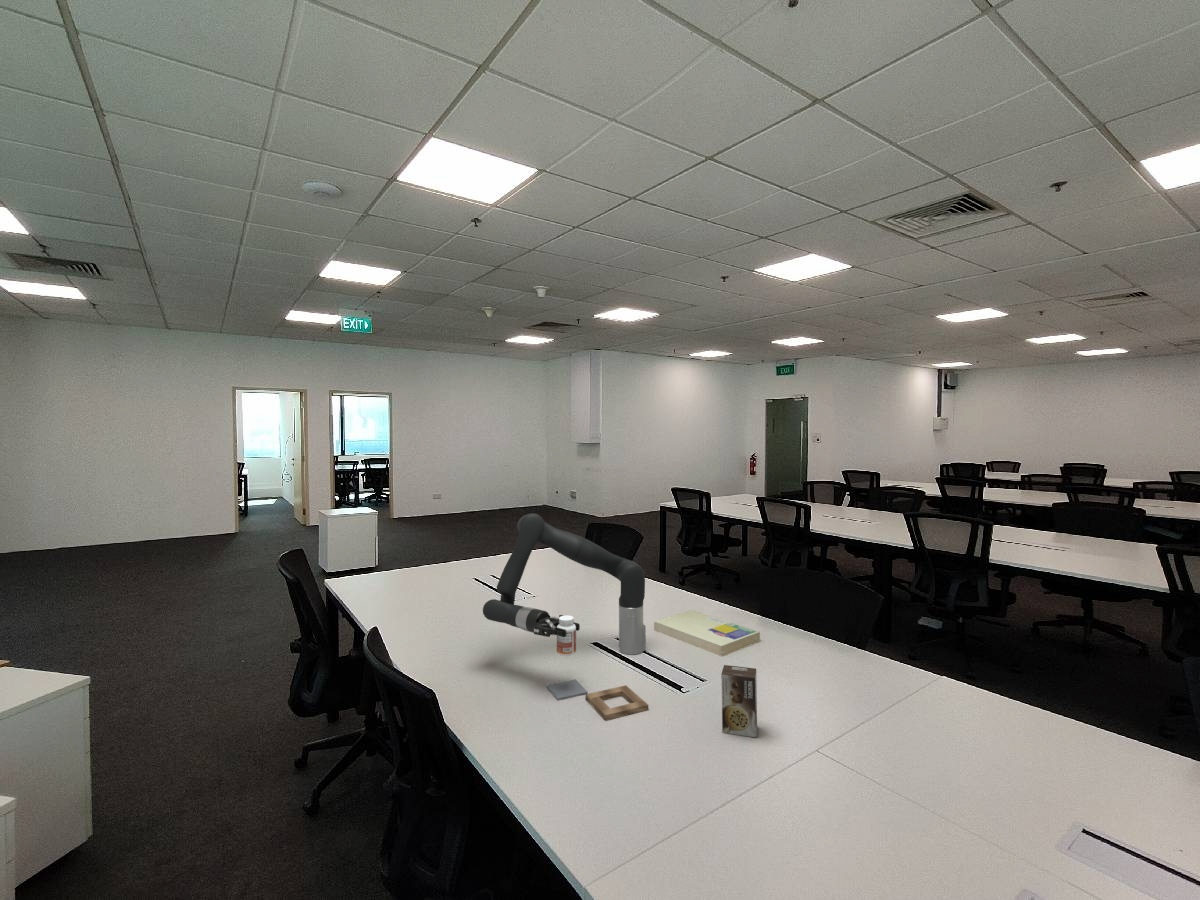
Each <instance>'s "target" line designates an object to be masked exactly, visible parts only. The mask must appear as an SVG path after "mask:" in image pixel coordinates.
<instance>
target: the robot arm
mask: <svg viewBox="0 0 1200 900" xmlns="http://www.w3.org/2000/svg"><path fill="white" fill-rule="evenodd" d="M517 532H518V536H517V539H516V541H515V542H516V543H515V545H514V548H513V550H512V551H511V552H512V553H511V554H510V556H509V558H508V560H507V562H506V563H505V566H504V568H503V570H502V573H501V574H500V578H499V580H498V582H497V584H496V591H497V592H498V593H499V594H500V600H498V599H494V598H493V599H489V600H488V601H486V602H485V603H484V604H483V608H482V615H483V616H484V618H486V619H487V620H488V621H492V622H497V623H501V624H502V623H503V624H505V625H506V624H507V625H508V626H510V627H515V628H518V629H520V630H523V631H526V632H530V633H532V634H534V635H535V636H540V637H541V636H542V637H545V638H550V637H551V636H553V637H555V636H556V637H557V636H561V637H566V630H565V629H561V628H557V626H558V625H559V624H560V623H559V617H561V616H565V615H563V614H559V615H558V616H559V617H556V616H550V614H549V612H547V611H546V610H543V609H538V608H534V607H527V606H523V605H519V604H515V600H516V593H517V590H518V587H519V585H520V582H521V580H522V577H523V574H524V573H525V569H526V567H527V563H528V561H529V559H530V556H531V555H532V552H533V550H534V547H535V546H536V544H537V543H539V544H542V545H544V546H546V547H548V548H550V549H552V550H554V551H556V553H558V554H560V555H562V556H564V557H566V558H567V559H569V560H571V561H573V562H575V563H577V564H579V565H582V566H584V567H587V568H592V569H595V570H599V571H603V572H604V573H607V574H608V575H610V576H612V577H613V578H616V579H617V580H618V581H620V596H619V597H618V651H619V652H621V654H625V655H638V654H642V652H644V651H646V649H647V648H646V646H647V645H646V643H647V642H646V641H647V640H646V637H647V636H646V632H647V631H646V630H647V629H646V628H647V627H646V625H645V624H644V599H645V594H646V574H645V571H644V569H643V568H642V567H641V566H640V565H639V564H638V563H637V562H635V561H633V560H630V559H627V558H624V557H621V556H619V555H616V554H614V553H612V552H609V551H608V550H607V549H605V548H603V547H602V546H600V545H598V544H597V543H595V542H593V541H591V540H590V539H587V538H586V537H583V536H580V535H578V534H575V533H572V532H569V531H566V530H562V529H558V528H557V527H554V526H553V525H550V524H549V523H547V522H546V521H544V519H543V518H542V516H540V514H538V513H527V514H525V515H523V516H521V517H520V518H519V520H518V522H517ZM573 624H575V626H576V632H578V631H580V630H581V629H580V628H581V627H580V626H581V625H580V623H579V622H575V621H574V622H573Z"/></svg>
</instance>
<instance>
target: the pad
mask: <svg viewBox="0 0 1200 900" xmlns="http://www.w3.org/2000/svg"><path fill="white" fill-rule="evenodd" d="M546 688H547V689H548V691H549V692H550V693H551V694H552V695H553V697H554V698H555V700H557V701H561V700H565V699H570V698H574V697H575V698H576V697H579V696H583V695H586V694H589V693H588V691H587V689H586V688H584V686H583V685H582V684H581V683H580V682H579V681H578V680H577V679H575V678H574V679H569V680H563V681H560V682H556V683H555V682H554V683H549V684H546Z"/></svg>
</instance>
